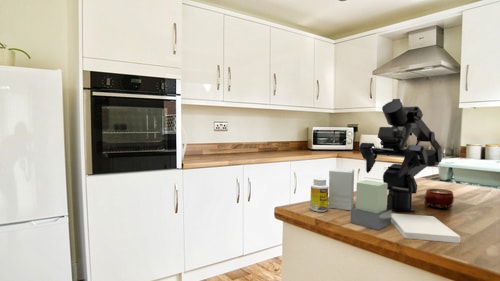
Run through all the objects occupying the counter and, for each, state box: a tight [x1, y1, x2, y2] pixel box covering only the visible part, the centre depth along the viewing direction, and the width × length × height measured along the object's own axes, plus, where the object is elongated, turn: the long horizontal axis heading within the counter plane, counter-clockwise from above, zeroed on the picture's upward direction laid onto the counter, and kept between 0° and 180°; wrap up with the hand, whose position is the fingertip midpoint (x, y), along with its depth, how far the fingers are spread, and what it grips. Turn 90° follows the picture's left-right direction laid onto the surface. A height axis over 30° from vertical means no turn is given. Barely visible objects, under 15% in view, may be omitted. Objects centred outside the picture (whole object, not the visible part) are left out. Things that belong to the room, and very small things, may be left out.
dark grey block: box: [350, 206, 393, 231], centre depth 81 cm, size 8×8×6 cm
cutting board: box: [391, 212, 461, 244], centre depth 77 cm, size 16×12×2 cm
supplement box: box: [328, 167, 355, 211], centre depth 98 cm, size 7×7×13 cm
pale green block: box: [355, 179, 388, 214], centre depth 81 cm, size 6×6×8 cm
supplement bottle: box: [310, 177, 329, 213], centre depth 94 cm, size 6×6×10 cm
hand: (382, 174), depth 86 cm, fingers open, 9 cm apart
